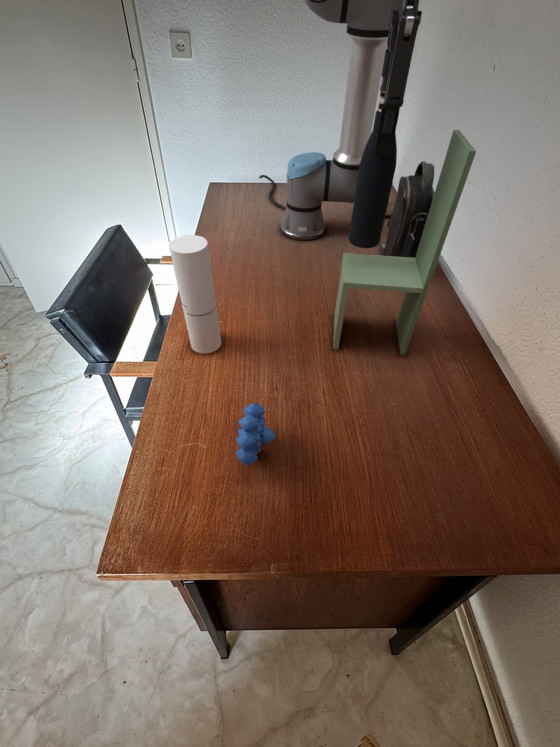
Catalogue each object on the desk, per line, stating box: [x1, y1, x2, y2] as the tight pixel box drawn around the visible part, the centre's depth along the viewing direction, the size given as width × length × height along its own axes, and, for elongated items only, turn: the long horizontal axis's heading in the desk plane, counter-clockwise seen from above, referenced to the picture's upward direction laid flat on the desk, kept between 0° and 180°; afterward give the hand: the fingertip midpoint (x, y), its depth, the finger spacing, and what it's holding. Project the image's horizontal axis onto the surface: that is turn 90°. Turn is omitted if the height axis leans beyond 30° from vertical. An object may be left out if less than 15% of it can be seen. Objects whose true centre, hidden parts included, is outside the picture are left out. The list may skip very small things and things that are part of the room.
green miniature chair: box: [332, 129, 477, 356], centre depth 75 cm, size 12×17×42 cm
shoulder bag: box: [381, 160, 435, 258], centre depth 104 cm, size 23×9×28 cm, turn 172°
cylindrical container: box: [168, 234, 222, 355], centre depth 79 cm, size 7×7×25 cm
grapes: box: [234, 402, 277, 466], centre depth 63 cm, size 12×7×12 cm, turn 171°
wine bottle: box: [348, 47, 400, 249], centre depth 66 cm, size 6×6×30 cm
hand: (380, 149), depth 65 cm, fingers closed on wine bottle, 5 cm apart
